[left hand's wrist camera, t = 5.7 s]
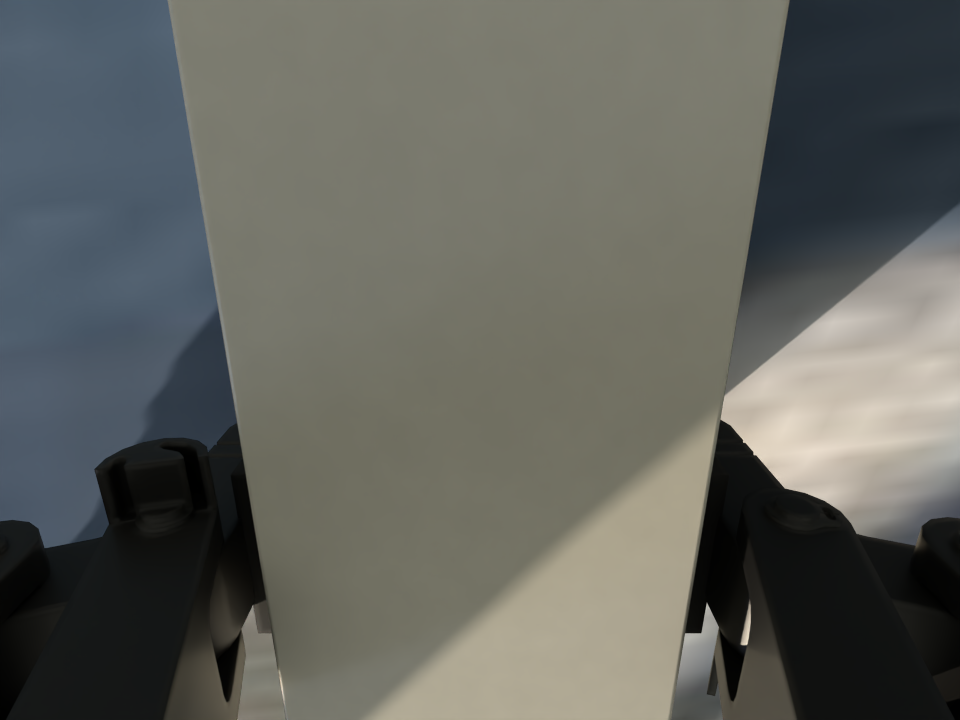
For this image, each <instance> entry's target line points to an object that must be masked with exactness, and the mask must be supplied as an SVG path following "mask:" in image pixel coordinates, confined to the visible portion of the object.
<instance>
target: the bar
mask: <svg viewBox="0 0 960 720" xmlns="http://www.w3.org/2000/svg"><path fill="white" fill-rule="evenodd" d="M789 1H790V0H168V4H169V10H170V16H171V22H172V29H173V35H174V41H175V47H176V53H177V59H178V65H179V71H180V77H181V83H182V89H183V95H184V102H185V108H186V114H187V120H188V126H189V132H190V138H191V144H192V150H193V156H194V162H195V168H196V175H197V181H198V187H199V193H200V199H201V205H202V211H203V217H204V223H205V229H206V235H207V242H208V248H209V254H210V260H211V266H212V272H213V278H214V284H215V290H216V296H217V302H218V308H219V315H220V321H221V327H222V333H223V339H224V345H225V351H226V357H227V363H228V369H229V375H230V381H231V388H232V394H233V400H234V406H235V412H236V418H237V424H238V430H239V436H240V442H241V448H242V454H243V461H244V467H245V473H246V479H247V485H248V491H249V497H250V503H251V509H252V515H253V521H254V528H255V534H256V540H257V546H258V552H259V558H260V564H261V570H262V576H263V582H264V588H265V594H266V601H267V607H268V613H269V619H270V625H271V631H272V637H273V643H274V649H275V655H276V661H277V667H278V674H279V680H280V686H281V692H282V698H283V704H284V710H285V716H286V720H671V715H672V709H673V703H674V697H675V690H676V684H677V678H678V672H679V666H680V660H681V654H682V648H683V642H684V636H685V630H686V624H687V618H688V612H689V606H690V600H691V594H692V588H693V582H694V575H695V569H696V563H697V557H698V551H699V545H700V539H701V533H702V527H703V521H704V515H705V509H706V503H707V497H708V491H709V485H710V479H711V473H712V467H713V461H714V454H715V448H716V442H717V436H718V430H719V424H720V418H721V412H722V406H723V400H724V394H725V388H726V382H727V376H728V370H729V364H730V358H731V352H732V346H733V339H734V333H735V327H736V321H737V315H738V309H739V303H740V297H741V291H742V285H743V279H744V273H745V267H746V261H747V255H748V249H749V243H750V237H751V231H752V225H753V218H754V212H755V206H756V200H757V194H758V188H759V182H760V176H761V170H762V164H763V158H764V152H765V146H766V140H767V134H768V128H769V122H770V116H771V110H772V104H773V97H774V91H775V85H776V79H777V73H778V67H779V61H780V55H781V49H782V43H783V37H784V31H785V25H786V19H787V13H788V7H789Z"/></svg>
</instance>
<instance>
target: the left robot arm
mask: <svg viewBox="0 0 960 720" xmlns="http://www.w3.org/2000/svg"><path fill="white" fill-rule="evenodd" d="M94 470H95V473H96V477H97V481H98V484H99V488H100V492H101V495H102V499H103V503H104V506H105V510H106V514H107V517H108V521H109V526H108V528H107V529H106V531H105V533H104V535H103V537H100V538H96V539H92V540H86V541H81V542H76V543H71V544H66V545H60V546H55V547H50V548H44V545H43V542H42V539H41V536H40V533H39V529H38V528H37V527H35V526H34V525H32V524H31V523H30V522H24V521H16V520H9V521H0V720H237V717H238V709H239V702H240V694H241V687H242V679H243V672H244V664H245V657H246V654H245V646H244V640H243V635H242V630H241V628H242V626H243V624H244V622H245V620H246V618H247V616H248V614H249V612H250V610H251V608H252V606H254V612H255V617H256V623H257V629H258V633H272V631H271V625H270V619H269V613H268V607H267V601H266V594H265V588H264V582H263V576H262V570H261V564H260V558H259V552H258V546H257V540H256V534H255V528H254V521H253V515H252V509H251V503H250V497H249V491H248V485H247V479H246V473H245V467H244V461H243V454H242V448H241V442H240V436H239V430H238V424H235V425H233V426H231V427H230V428H229V429H228V430H227V431H226V432H225V434H224V435H223V436H222V437H221V438H220V439H219V441H218V442H217V445H214V446H213V448H212V449H211V450H210V451H209V452H208V450H207V447H206V446H205V445H203V444H202V443H201V442H199V441H197V440H192V439H187V438H163V439H158V440H153V441H148V442H143V443H140V444H137V445H134V446H131V447H128V448H125V449H122V450H121V451H119V452H117V453H115V454H113V455H111V456H110V457H108V458H106V459H105V460H104V461H103V462H102V463H101V464H99V465H98V466H97V467H96V468H95V469H94ZM707 603H708V605H709V607H710V610H711V612H712V614H713V616H714V618H715V620H716V622H717V624H718V626H719V630H718V635H717V640H716V645H715V651H714V656H713V661H712V667H711V672H710V677H709V683H708V690H707V694H708V695H713V696H715V694H716V689H717V684H718V685H719V693H720V700H721V708H722V715H723V720H960V519H959V518H950V517H945V518H937V519H931V520H929V521H928V522H927V523H925V524H924V525H923V526H922V528H921V531H920V534H919V537H918V540H917V543H916V546H914V545H909V544H904V543H898V542H893V541H888V540H882V539H877V538H872V537H867V536H863V535H859V534H856V532H855V530H854V528H853V527H852V525H851V523H850V522H849V521H848V520H847V518H846V517H845V516H844V515H843V514H842V513H841V511H839V510H837V509H836V508H834V507H833V506H831V505H830V504H828V503H827V502H825V501H823V500H821V499H818V498H816V497H813V496H811V495H808V494H806V493H802V492H798V491H793V490H789V489H785V488H784V487H783V486H782V485H781V484H780V483H779V481H778V480H777V479H776V478H775V477H774V476H773V474H772V473H771V472H770V471H769V470H768V469H767V467H766V466H765V465H764V464H763V463H762V462H761V460H760V459H759V458H758V457H757V456H756V455H753V451H752V450H751V449H750V448H749V447H748V445H747V444H746V443H743V440H742V438H741V437H740V436H739V435H738V434H737V433H736V432H735V430H734V429H733V428H732V427H731V426H730V425H729V424H727V423H725V422H723V421H722V420H720V424H719V430H718V436H717V442H716V448H715V454H714V461H713V467H712V473H711V479H710V485H709V491H708V497H707V503H706V509H705V515H704V521H703V527H702V533H701V539H700V545H699V551H698V557H697V563H696V569H695V575H694V582H693V588H692V594H691V600H690V606H689V612H688V618H687V624H686V630H685V633H701V632H702V626H703V621H704V615H705V609H706V604H707Z"/></svg>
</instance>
